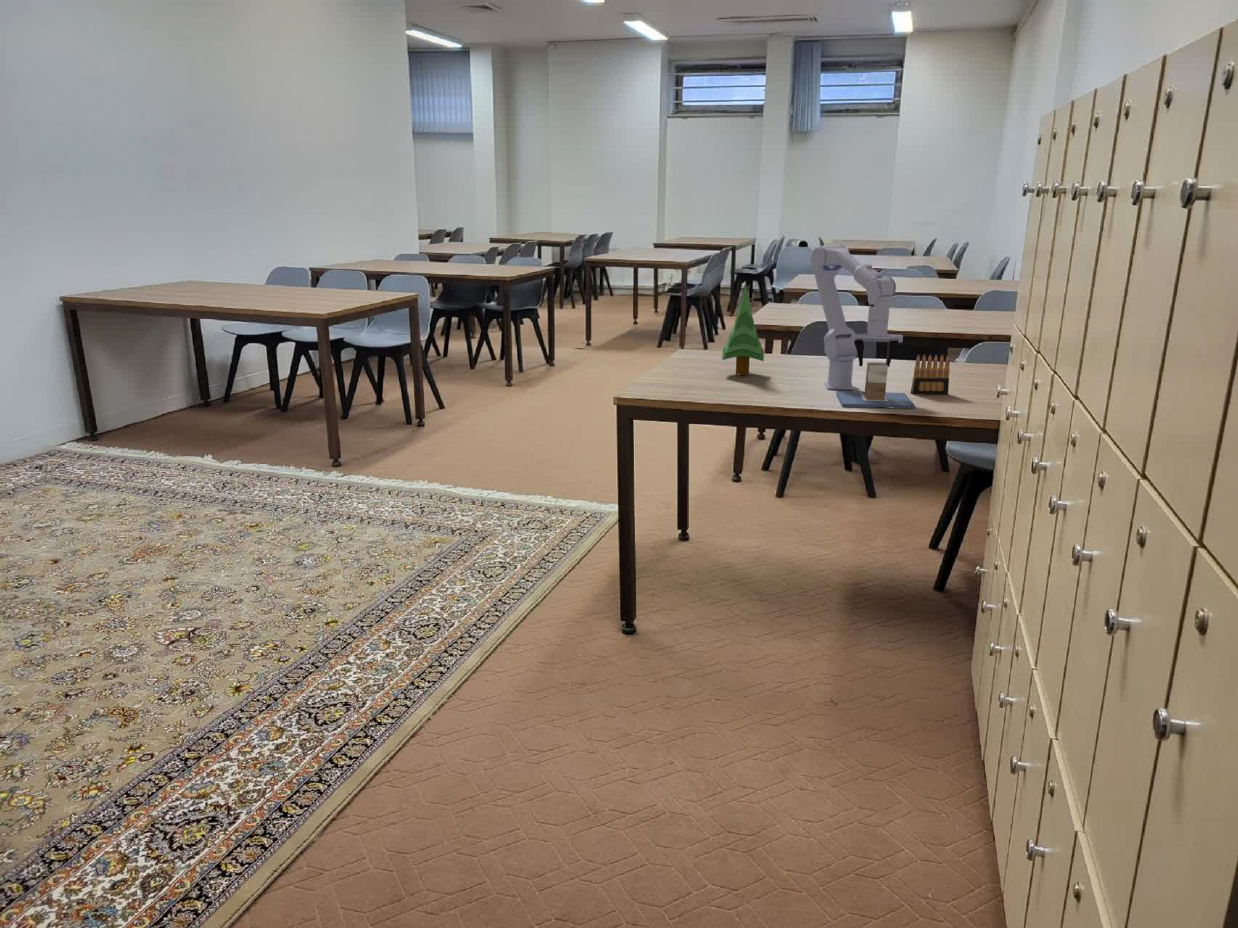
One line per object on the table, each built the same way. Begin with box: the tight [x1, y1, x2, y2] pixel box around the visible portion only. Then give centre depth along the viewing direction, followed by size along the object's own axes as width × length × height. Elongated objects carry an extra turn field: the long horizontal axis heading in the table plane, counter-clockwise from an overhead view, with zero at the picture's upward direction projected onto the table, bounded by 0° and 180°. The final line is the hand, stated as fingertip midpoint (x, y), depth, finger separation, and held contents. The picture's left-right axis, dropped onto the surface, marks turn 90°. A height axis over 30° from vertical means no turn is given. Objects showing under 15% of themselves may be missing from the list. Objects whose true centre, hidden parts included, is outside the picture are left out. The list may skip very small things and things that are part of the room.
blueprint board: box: [835, 390, 916, 410], centre depth 256 cm, size 16×20×1 cm
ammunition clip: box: [910, 354, 951, 396], centre depth 264 cm, size 11×2×12 cm, turn 88°
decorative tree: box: [721, 284, 765, 375], centre depth 289 cm, size 14×16×30 cm
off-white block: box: [865, 361, 889, 384], centre depth 254 cm, size 5×5×5 cm
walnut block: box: [864, 379, 887, 400], centre depth 255 cm, size 5×5×5 cm
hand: (874, 366), depth 259 cm, fingers open, 7 cm apart
